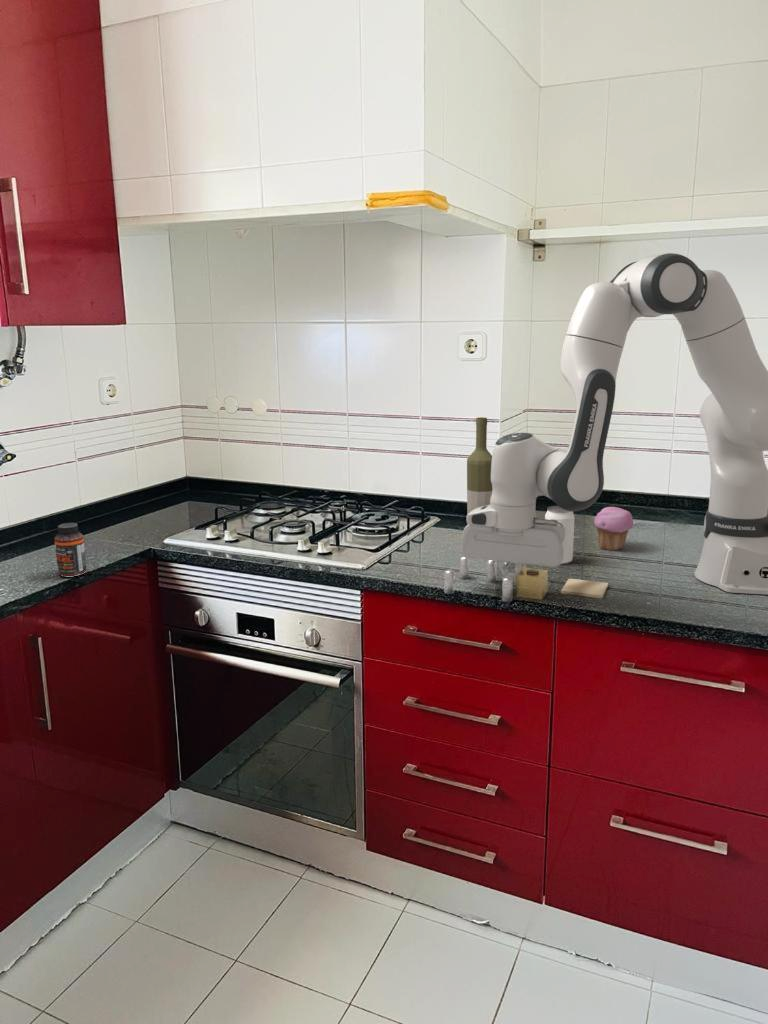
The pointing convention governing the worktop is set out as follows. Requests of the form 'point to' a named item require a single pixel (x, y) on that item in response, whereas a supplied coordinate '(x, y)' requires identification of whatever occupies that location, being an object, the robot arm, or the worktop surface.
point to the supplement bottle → (70, 550)
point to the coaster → (584, 588)
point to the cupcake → (613, 527)
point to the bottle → (479, 470)
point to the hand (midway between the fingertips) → (510, 582)
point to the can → (568, 522)
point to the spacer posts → (491, 577)
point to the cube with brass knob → (532, 583)
